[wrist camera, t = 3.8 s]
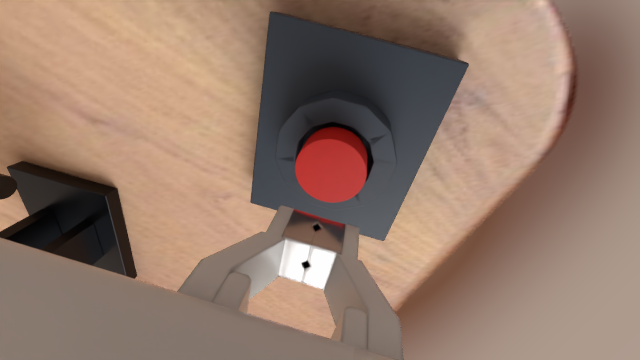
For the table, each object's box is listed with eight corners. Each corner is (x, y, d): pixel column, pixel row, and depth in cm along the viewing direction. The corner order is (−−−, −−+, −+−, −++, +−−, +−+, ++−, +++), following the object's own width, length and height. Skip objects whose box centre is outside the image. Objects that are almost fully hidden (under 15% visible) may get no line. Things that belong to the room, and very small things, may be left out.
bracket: (22, 160, 23) (-243, 261, 13) (117, 188, 23) (-80, 313, 13) (61, 253, 30) (-99, 369, 20) (137, 276, 29) (14, 406, 19)
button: (309, 118, 14) (301, 129, 12) (376, 137, 14) (376, 150, 12) (297, 176, 16) (289, 192, 14) (356, 193, 16) (354, 210, 14)
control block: (279, 12, 14) (255, 8, 11) (459, 59, 14) (483, 68, 11) (258, 190, 21) (239, 218, 18) (383, 226, 20) (385, 260, 17)
